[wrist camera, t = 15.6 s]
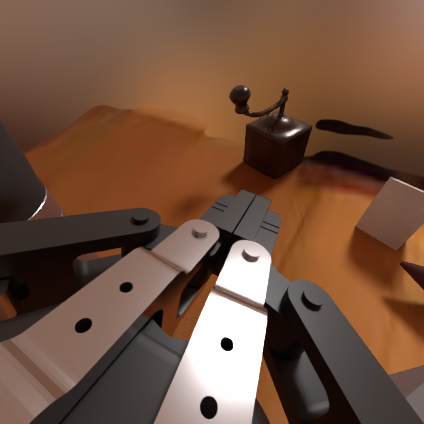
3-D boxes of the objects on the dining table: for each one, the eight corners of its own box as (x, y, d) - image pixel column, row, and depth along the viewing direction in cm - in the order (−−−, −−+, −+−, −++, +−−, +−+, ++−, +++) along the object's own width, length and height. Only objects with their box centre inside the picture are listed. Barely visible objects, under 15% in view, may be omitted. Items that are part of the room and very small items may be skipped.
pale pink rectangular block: (396, 251, 36) (439, 207, 29) (355, 226, 40) (384, 182, 32) (406, 239, 37) (449, 195, 30) (365, 216, 41) (395, 172, 34)
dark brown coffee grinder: (268, 145, 60) (280, 67, 47) (303, 162, 54) (328, 78, 41) (225, 167, 54) (224, 86, 41) (259, 190, 47) (271, 102, 34)
